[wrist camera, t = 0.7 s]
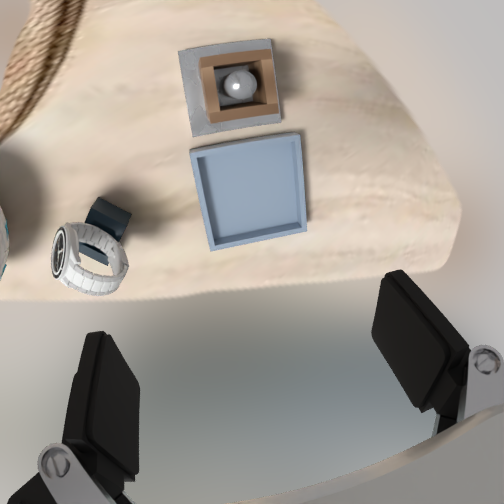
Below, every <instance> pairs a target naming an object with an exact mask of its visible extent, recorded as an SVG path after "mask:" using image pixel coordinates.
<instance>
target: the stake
mask: <svg viewBox="0 0 504 504" xmlns="http://www.w3.org/2000/svg"><path fill="white" fill-rule="evenodd" d="M262 49H271V53H272V46H271V39H262V40H250V41H240V42H232V43H224V44H217V45H210V46H204V47H198V48H193V49H187V50H182V51H178V55H179V62H180V68H181V74H182V80H183V85H184V91H185V97H186V103H187V108H188V114H189V119H190V125H191V130H192V135H193V137H197V136H201V135H206V134H212V133H217V132H222V131H228V130H234V129H240V128H246V127H253V126H259V125H266V124H274V123H281V115H280V106H279V98H278V90H277V82H276V75H275V67H274V60H273V53H272V61H273V68H274V75H275V83H276V91H277V99H278V107H279V114H271V115H263V116H256V117H249V118H243V119H236V120H230V121H224V122H219V123H213V124H211V123H210V122H209V120H208V118H207V115H206V109H205V103H204V97H203V91H202V85H201V79H200V72H199V66H198V62H199V59H200V57H206V56H212V55H219V54H226V53H234V52H242V51H251V50H262ZM214 75H215V81H216V88H217V94H218V100H219V106H225V105H231V104H237V103H244V102H251V101H253V97H252V95H253V94H254V92H255V91H256V88H257V82H256V79H255V77H254V76H253V75H252V74H251V73H249V69H248V65H245V66H237V67H230V68H223V69H216V70H214Z"/></svg>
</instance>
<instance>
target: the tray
mask: <svg viewBox="0 0 504 504" xmlns="http://www.w3.org/2000/svg"><path fill="white" fill-rule="evenodd" d="M189 154H190V159H191V163H192V168H193V173H194V178H195V183H196V188H197V192H198V197H199V202H200V206H201V211H202V216H203V220H204V225H205V229H206V234H207V238H208V242H209V247H210V251H215V250H220V249H224V248H229V247H234V246H239V245H243V244H248V243H253V242H258V241H263V240H267V239H272V238H277V237H282V236H287V235H291V234H296V233H301V232H306V231H307V220H306V204H305V189H304V175H303V162H302V151H301V139H300V135H299V134H297V133H295V132H290V133H282V134H275V135H268V136H261V137H255V138H248V139H242V140H236V141H231V142H225V143H220V144H214V145H209V146H204V147H199V148H195V149H190V150H189Z"/></svg>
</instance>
